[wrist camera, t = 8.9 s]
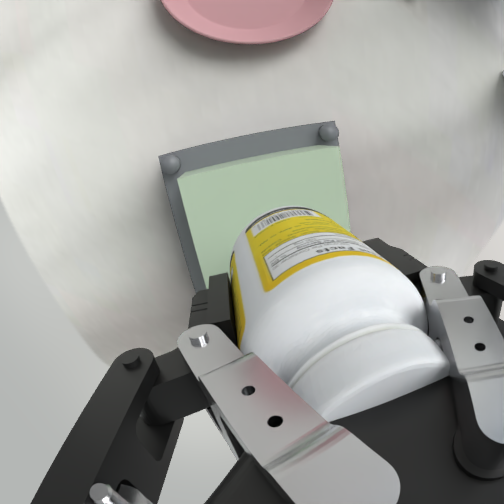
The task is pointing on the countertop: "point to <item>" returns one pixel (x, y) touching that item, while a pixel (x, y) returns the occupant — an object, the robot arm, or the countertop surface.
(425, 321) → the supplement bottle
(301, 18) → the plate
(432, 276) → the robot arm
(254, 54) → the countertop surface
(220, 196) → the sponge in grey tray
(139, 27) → the countertop surface
